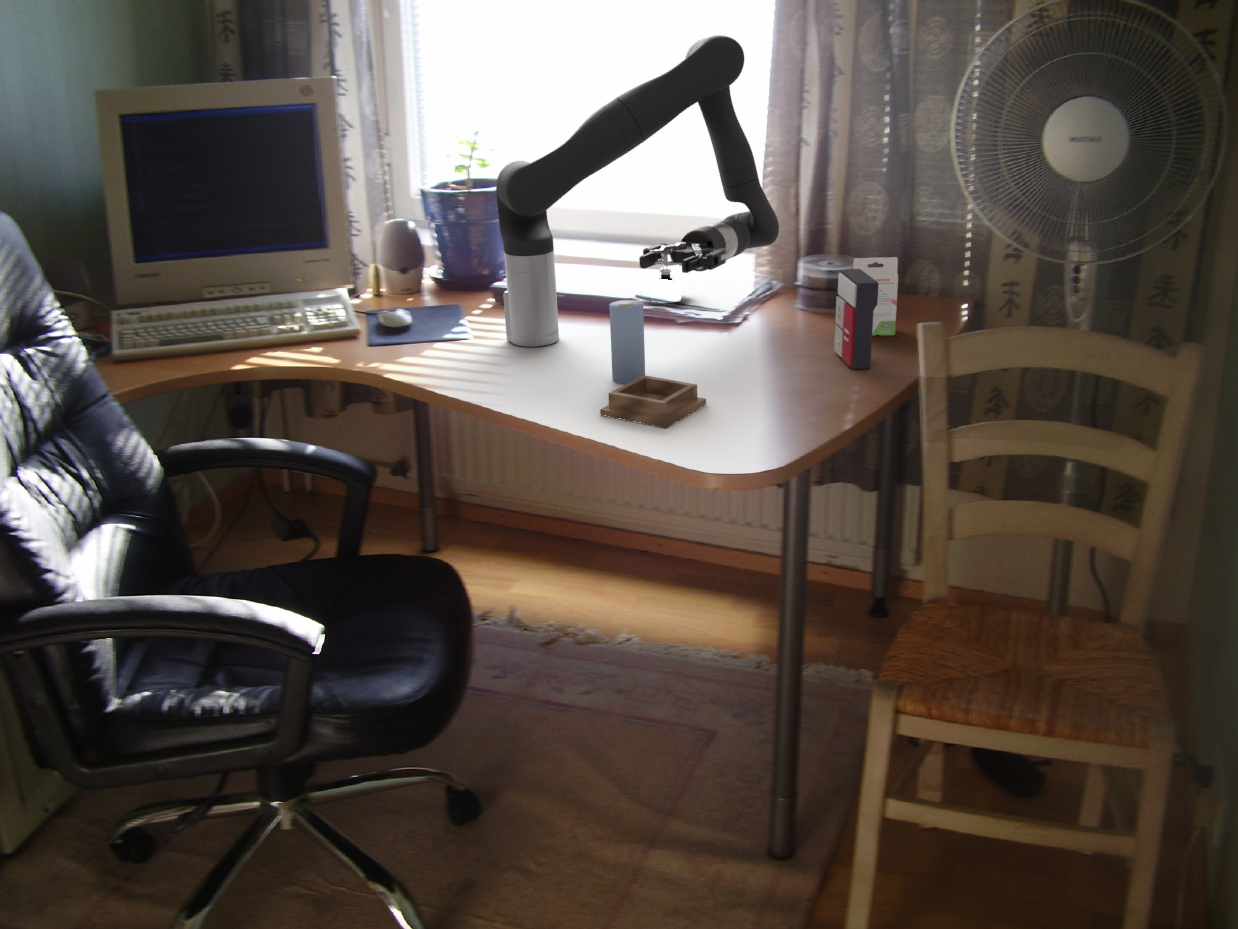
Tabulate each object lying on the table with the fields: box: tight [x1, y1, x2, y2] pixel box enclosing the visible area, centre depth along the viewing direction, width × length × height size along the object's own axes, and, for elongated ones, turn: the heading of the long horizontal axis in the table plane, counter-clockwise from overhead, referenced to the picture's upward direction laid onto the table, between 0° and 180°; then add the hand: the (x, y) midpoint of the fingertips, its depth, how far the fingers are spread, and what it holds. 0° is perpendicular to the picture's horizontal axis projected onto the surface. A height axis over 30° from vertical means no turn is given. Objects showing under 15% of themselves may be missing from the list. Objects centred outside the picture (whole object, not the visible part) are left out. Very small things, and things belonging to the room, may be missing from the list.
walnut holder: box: [599, 374, 707, 429], centre depth 168 cm, size 12×12×4 cm
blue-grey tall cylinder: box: [608, 299, 646, 385], centre depth 181 cm, size 6×6×13 cm
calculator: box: [833, 268, 878, 371], centre depth 186 cm, size 11×4×15 cm, turn 5°
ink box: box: [852, 256, 899, 337], centre depth 201 cm, size 9×5×15 cm, turn 84°
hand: (662, 264), depth 185 cm, fingers open, 8 cm apart
